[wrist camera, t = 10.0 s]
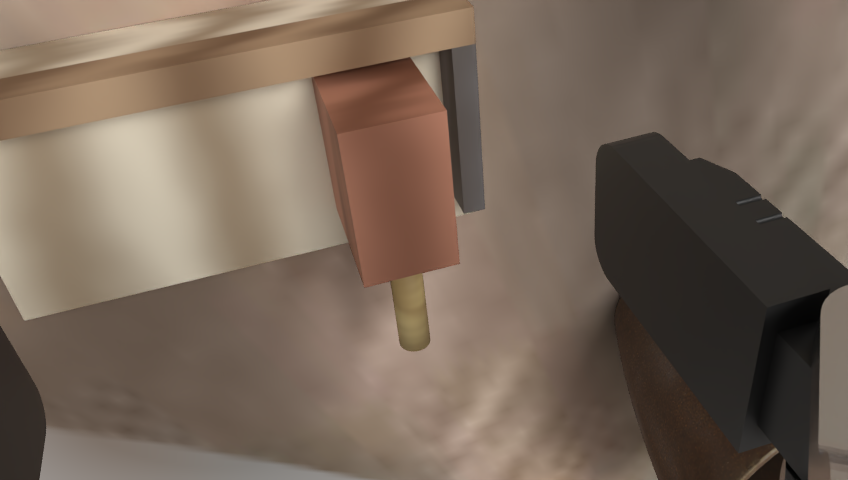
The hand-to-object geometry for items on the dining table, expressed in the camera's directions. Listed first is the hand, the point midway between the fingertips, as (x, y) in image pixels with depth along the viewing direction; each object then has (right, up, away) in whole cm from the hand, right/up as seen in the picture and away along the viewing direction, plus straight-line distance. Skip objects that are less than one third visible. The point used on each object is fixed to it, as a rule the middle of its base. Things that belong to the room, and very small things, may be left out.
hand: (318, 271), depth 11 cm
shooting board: (-8, +5, +26) cm, 27 cm away
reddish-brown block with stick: (-1, +3, +26) cm, 26 cm away
